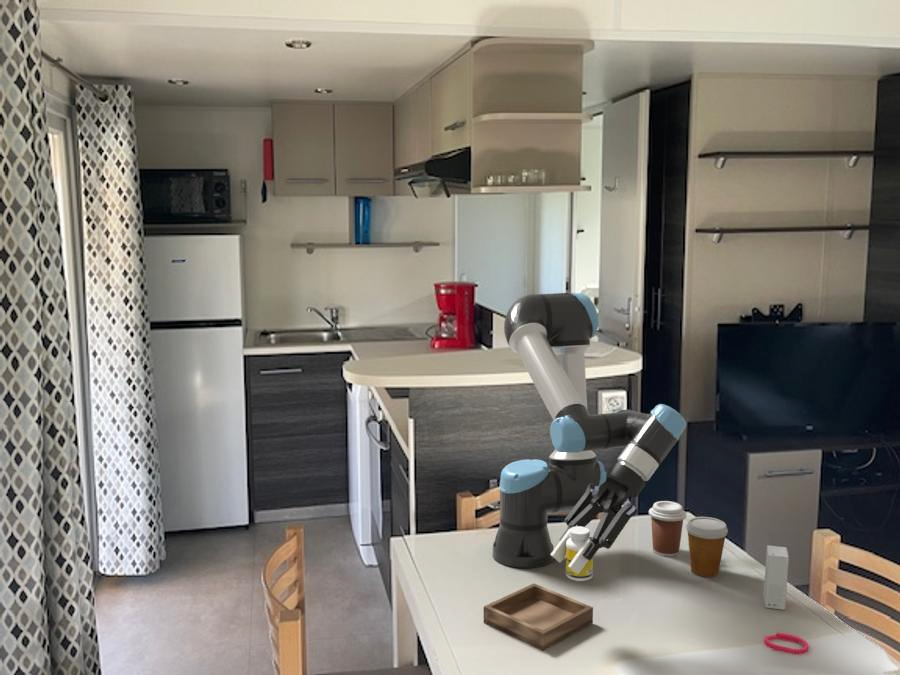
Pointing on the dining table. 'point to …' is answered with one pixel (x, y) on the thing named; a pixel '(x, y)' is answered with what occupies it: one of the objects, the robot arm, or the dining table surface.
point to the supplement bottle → (572, 548)
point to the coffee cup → (666, 527)
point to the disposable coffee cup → (706, 545)
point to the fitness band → (787, 638)
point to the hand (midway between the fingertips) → (564, 564)
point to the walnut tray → (538, 616)
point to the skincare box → (776, 577)
